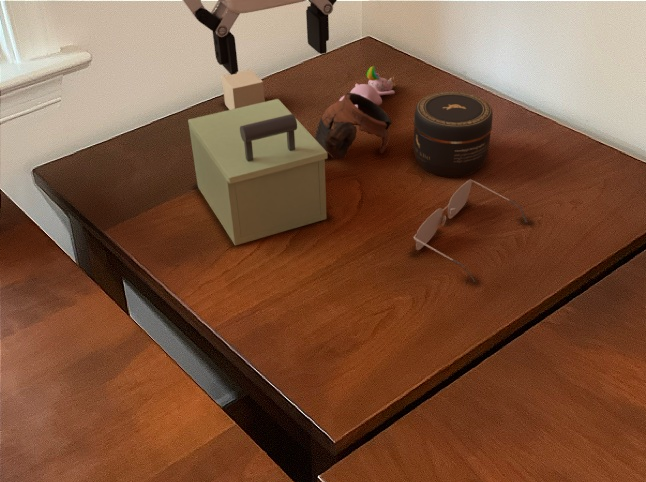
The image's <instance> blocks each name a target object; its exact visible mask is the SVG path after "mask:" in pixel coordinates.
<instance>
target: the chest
mask: <svg viewBox="0 0 646 482" xmlns="http://www.w3.org/2000/svg"><path fill="white" fill-rule="evenodd" d="M188 130H189V136H190V143H191V149H192V155H193V157H192V158H193V162H194V163H193V164H194V169H195V177H196V182H197V183H196V184H197V188H198V190H199V192H201V194H202V196H203V198H204V199H205V201H206V202H207V204H208V205H209V207H210V208H211V210H212V211H213V213H214V215H215V216H216V218H217V219H218V221H219V223H221V226H222V227H223V229H224V230H225V232H226V233H227V235H228V237H229V239H230V240H231V241H232V243H233V244H234V246H238V245H243V244H246V243H249V242H253V241H255V240H259V239H263V238H267V237H269V236H274V235H277V234H280V233H283V232H286V231H291V230H294V229H297V228H300V227H303V226H307V225H311V224H314V223H318V222H320V221H325V220H327V191H326V187H327V186H326V161H325V160H326V159H323V160H320V161H316V162H312V163H308V164H304V165H301V166H297V167H293V168H289V169H285V170H282V171H278V172H274V173H270V174H266V175H263V176H259V177H255V178H251V179H247V180H244V181H240V182H236V183H232V184H229V182H228V181H227V179H226V178H225V176H224V175H223V174H222V172H221V171H220V169H219V168H218V166H217V165H216V164H215V162H214V161H213V159H212V158H211V156H210V155H209V153H208V152H207V151H206V149H205V148H204V146H203V145H202V143H201V142H200V141H199V139H198V138H197V136H196V135H195V133H194V132H193V130H192V129H191V128H190V126H189V125H188Z"/></svg>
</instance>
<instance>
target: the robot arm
mask: <svg viewBox="0 0 646 482" xmlns="http://www.w3.org/2000/svg"><path fill="white" fill-rule="evenodd" d="M306 1H308V2H309V5H308V6H307V7H306V10H305V15H306V17H305V18H306V36H307V37H306V38H307V44H308V46H310V47H311V48H312V49H313V50H315V51H316V52H317V53H318V54H320V55H323V54H327V52H328V49H327V42H328V41H329V40H330V27H329V25H330V23H329V15H331V14H332V12H333V10H334V5H335V3H336V2H338V0H217V2H216V4H215V5H214V7H213V8H212V9H211V11H209V9H206V8H205V6H204V5H203V3H202V0H182V2H183V3H184V4H185V6H186V7H187V9H188V10H189V11H190V13H191V14H192V16H193V17H194V18H195V19H196V20H197V21H198V22H199V23H200V24H202V25H203V26H204V27H206V28H208V29H209V30H210V31H212V38H213V46H214V54H215V55H214V56H215V60H216V62H217V64H219V66H222V67H223V68H224V69H225V70H226V71H227V72H228V74H231V75H233V74H237V72H239V65H238V55H237V45H236V37H235V35H234V34H233V33H232V32H231V31H230V30H231V29H232V28H233V25H234V24H235V22H236V21H237V19H238V18H239V16H240V14H248V13H253V12H259V11H265V10H269V9H275V8H279V7H284V6H287V5H288V6H289V5H293V4H298V3H303V2H306Z"/></svg>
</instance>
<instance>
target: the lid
mask: <svg viewBox="0 0 646 482" xmlns="http://www.w3.org/2000/svg"><path fill="white" fill-rule="evenodd" d="M187 122H188V127H189V126H190V128H191V129H192V130H193V132H194V133H195V135H196V136H197V138H198V139H199V141H200V142H201V143H202V145H203V146H204V148H205V149H206V151H207V152H208V153H209V155H210V156H211V158H212V159H213V161H214V162H215V164H216V165H217V166H218V168H219V169H220V171H221V172H222V174H223V175H224V176H225V178H226V179H227V181H228V182H229V184H232V183H236V182H240V181H244V180H247V179H251V178H255V177H259V176H263V175H266V174H270V173H274V172H278V171H282V170H285V169H289V168H293V167H297V166H301V165H304V164H308V163H312V162H316V161H320V160H323V159H325V160H327V159H328V152H326V151H325V149H324V148H323V147H322V146H321V145H320V144H319V143H318V142H317V141H316V140H315V137H314V136H313V135H312V134H311V133H310V132H309V131H308V129H306V127H305V126H304V125H303V124H302V123H301V122H300V120H298V119H297V117H296V116H295V115H294V113H292V112H291V111H290V110H289V109H288V108H287V106H285V105H284V104H283V102H282V101H281V100H280V99H279V98H275V99H272V100H267V101H265V102H262V103H258V104H254V105H249V106H245V107H241V108H236V109H232V110H229V109H228V110H223V111H219V112H215V113H210V114H206V115H202V116H197V117H194V118H189V119H187Z"/></svg>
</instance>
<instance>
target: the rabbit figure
mask: <svg viewBox="0 0 646 482" xmlns="http://www.w3.org/2000/svg"><path fill="white" fill-rule="evenodd" d="M366 77H367V79H368V82H367V83H360V84H359V83H355V85H354V87H353V88H352V89H351V91H350V92H349V93H355V94H358V95H361V96H363V97H365V98H367V99H369V100H371V101H372V102H374V103H375V104H376V105H378V106H379V107H380V105H382V103H383V100H382V99H383V98H382V97H381V96H387V95H389V96H390V95H394V94H395V90H392V89H393V88H394V87H395V86H396V82H395V76H392V77H390V78H389V79H387V78H384V77H381V76H380V74H379V73H377V72H376V65H372V66H370V67H369V68H368V70H367V72H366ZM345 95H346V94H344V95H343V96H341V97H340V98H339V100H338V101H342V100H343V98H344V96H345ZM355 106H356V107H357V108H358V105H355Z"/></svg>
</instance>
